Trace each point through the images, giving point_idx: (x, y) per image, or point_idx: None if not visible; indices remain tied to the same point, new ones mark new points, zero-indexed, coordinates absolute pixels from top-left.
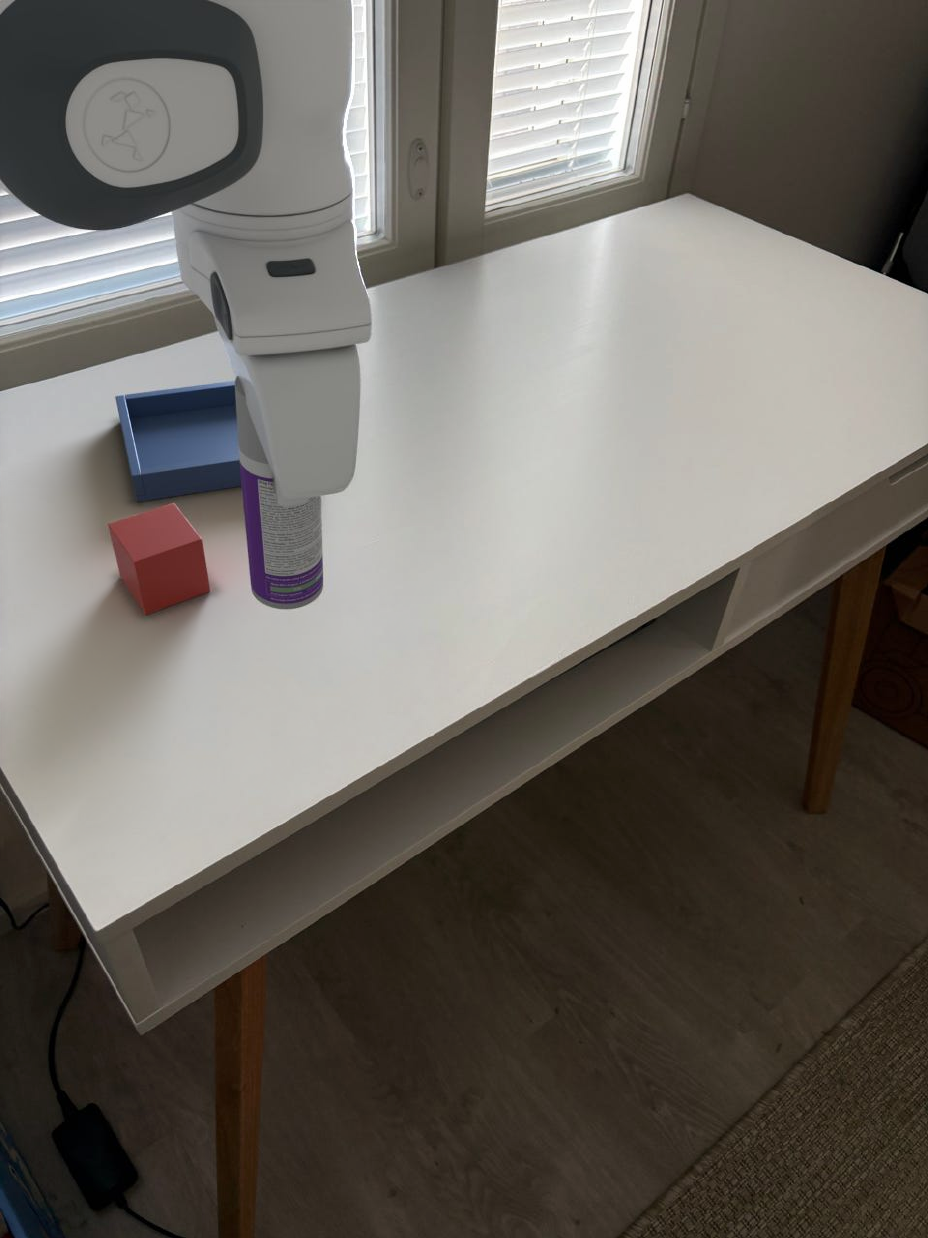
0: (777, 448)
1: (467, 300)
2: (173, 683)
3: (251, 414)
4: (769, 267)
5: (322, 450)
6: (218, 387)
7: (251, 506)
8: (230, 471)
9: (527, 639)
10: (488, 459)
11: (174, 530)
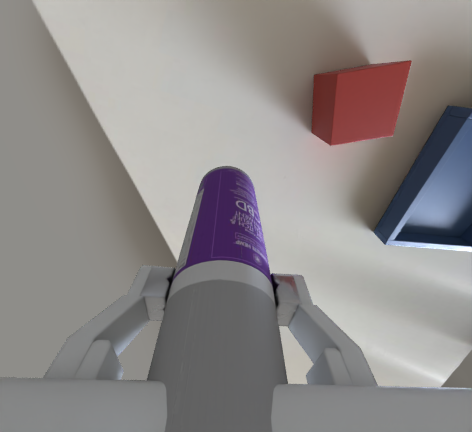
0: None
1: (448, 330)
2: (232, 76)
3: (99, 425)
4: None
5: None
6: None
7: (205, 225)
8: (414, 185)
9: None
10: (325, 296)
11: (356, 125)
